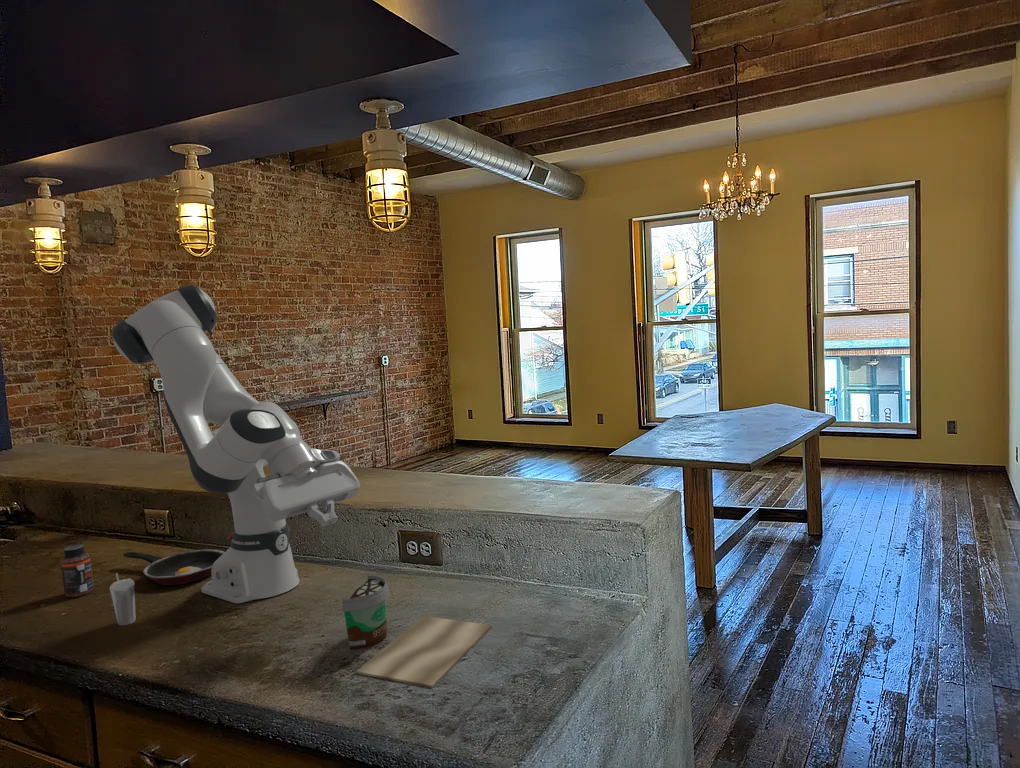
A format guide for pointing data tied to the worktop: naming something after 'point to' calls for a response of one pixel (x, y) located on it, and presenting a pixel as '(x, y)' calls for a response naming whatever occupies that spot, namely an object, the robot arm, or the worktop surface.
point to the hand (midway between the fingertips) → (330, 523)
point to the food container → (367, 614)
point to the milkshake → (124, 600)
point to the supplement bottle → (76, 572)
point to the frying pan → (178, 566)
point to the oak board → (425, 651)
